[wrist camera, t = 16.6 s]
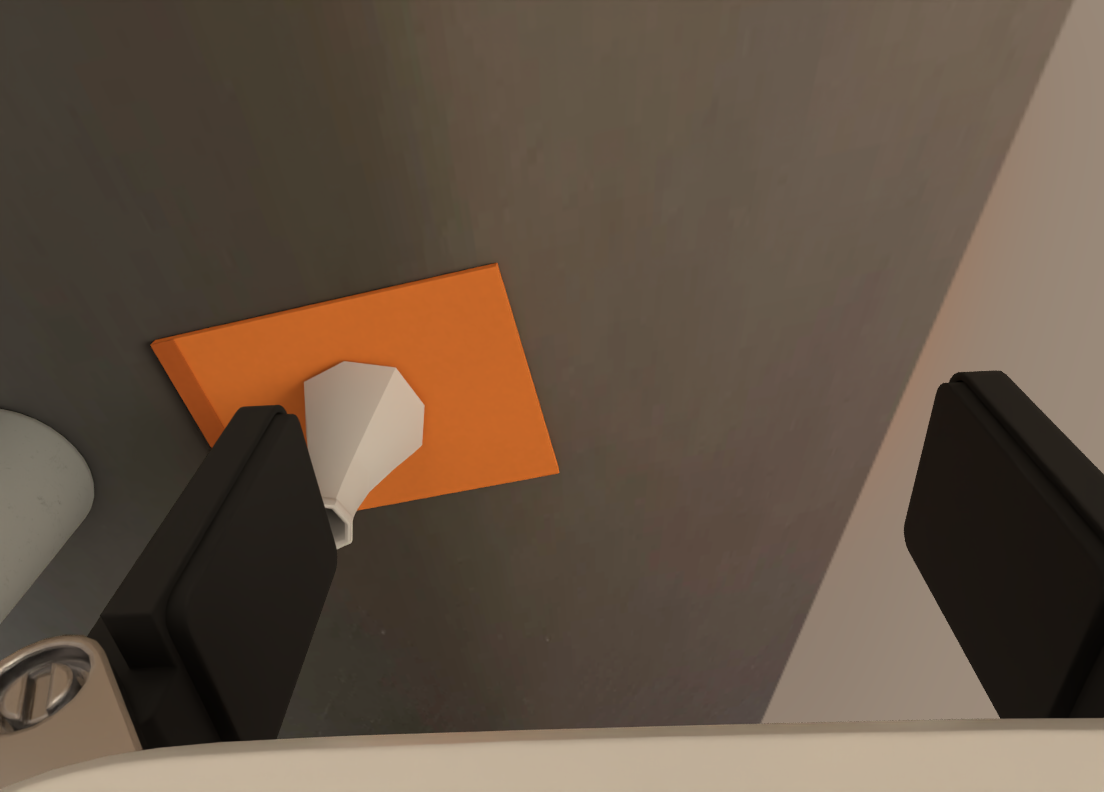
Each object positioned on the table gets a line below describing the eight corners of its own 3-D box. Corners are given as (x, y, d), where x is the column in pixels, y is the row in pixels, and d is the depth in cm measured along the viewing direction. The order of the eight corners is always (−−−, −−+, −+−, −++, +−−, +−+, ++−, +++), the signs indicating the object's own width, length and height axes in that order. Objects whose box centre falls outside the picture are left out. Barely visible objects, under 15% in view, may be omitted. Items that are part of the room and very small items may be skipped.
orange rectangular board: (154, 339, 42) (149, 344, 42) (497, 262, 40) (496, 266, 39) (262, 523, 50) (259, 529, 49) (559, 468, 47) (559, 474, 46)
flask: (407, 348, 42) (368, 457, 33) (441, 452, 46) (413, 573, 37) (284, 368, 43) (215, 479, 34) (327, 468, 46) (274, 590, 38)
